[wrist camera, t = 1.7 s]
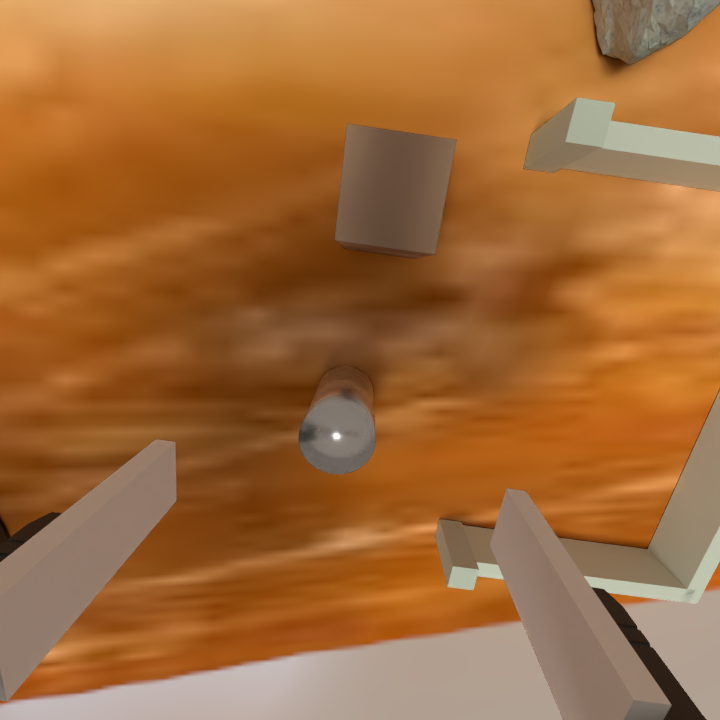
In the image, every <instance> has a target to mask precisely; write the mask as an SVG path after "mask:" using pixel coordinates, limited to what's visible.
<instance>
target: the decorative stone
mask: <svg viewBox="0 0 720 720" xmlns="http://www.w3.org/2000/svg"><path fill="white" fill-rule="evenodd" d="M592 2H593V5H594V8H595V12H594V15H593V18H594V21H595V24H596V28H597V39H598V44H599V46H600V48H601V51H602V53H603V55H608V56H610V57H613V58H620V59H621V60H622V61H624V62H625V63H627V64H629V65H632V64H633V63H635V62H637V61H639V60H641V59H643V58H645V57H646V56H648V55H650V54H652V53H653V52H655V51H657V50H659V49H661V48H663V47H665V46H667V45H669V44H671V43H672V42H674V41H677V40H679V39H681V38H682V37H683V36H685V35H686V34H687V33H688V32H690V31H691V30H692V29H693V28H694V27H695V26H696V25H697V24H698V23H699V22H700V21H701V20H702V19H703V18H704V17H705V16H707V15H708V14H709V13H710V12H711V11H712V10H714V9H715V8H716V7H717V6H718V5H720V0H592Z"/></svg>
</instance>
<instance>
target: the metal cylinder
mask: <svg viewBox="0 0 720 720" xmlns="http://www.w3.org/2000/svg"><path fill="white" fill-rule="evenodd" d="M299 446H300V449H301V452H302V454H303V455H304V457H305V458H306V460H307V461H308V462H309V463H310V464H311V465H313V466H314V467H315V468H317V469H319V470H321V471H323V472H327V473H331V474H345V473H350V472H353V471H355V470H357V469H359V468H361V467H362V466H363V465H364V464H365V463H366V462H367V461H368V460H369V459H370V457H371V456H372V454H373V451H374V448H375V420H374V398H373V386H372V383H371V381H370V379H369V377H368V376H367V375H366V374H365V373H364V372H363V371H361V370H360V369H358V368H356V367H353V366H338V367H334V368H332V369H330V370H329V371H328V372H326V373H325V374H324V375H323V377H322V378H321V380H320V382H319V385H318V387H317V389H316V392H315V394H314V397H313V399H312V401H311V404H310V406H309V409H308V411H307V413H306V416H305V418H304V420H303V423H302V425H301V428H300V431H299Z"/></svg>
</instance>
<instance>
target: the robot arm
mask: <svg viewBox="0 0 720 720" xmlns="http://www.w3.org/2000/svg"><path fill="white" fill-rule="evenodd" d="M175 502H176V443H175V442H173V441H166V440H158V439H156V440H155V441H153V442H152V443H151V444H149V445H148V446H147V447H146V448H144V449H143V450H142V451H141V452H139V453H138V454H137V455H136V456H134V457H133V458H132V459H130V460H129V461H128V462H127V463H125V464H124V465H123V466H122V467H120V468H119V469H118V470H117V471H115V472H114V473H113V474H111V475H110V476H109V477H108V478H106V479H105V480H104V481H103V482H101V483H100V484H99V485H98V486H96V487H95V488H94V489H93V490H91V491H90V492H89V493H87V494H86V495H85V496H84V497H82V498H81V499H80V500H79V501H77V502H76V503H75V504H74V505H72V506H71V507H70V508H68V509H67V510H66V511H65V512H63V513H54V512H51V513H49V514H47V515H45V516H43V517H41V518H39V519H37V520H35V521H33V522H31V523H29V524H28V525H26V526H25V527H23V528H22V529H21V530H19V531H18V532H17V533H15V534H14V535H13V536H11V537H10V538H9V539H7V536H6V533H5V531H4V529H3V527H2V525H1V524H0V700H2V701H8V700H9V699H10V698H11V696H12V695H13V694H14V693H15V692H16V691H17V689H18V688H19V687H20V686H21V685H22V683H23V682H24V681H25V680H26V679H27V677H28V676H29V675H30V674H31V673H32V672H33V670H34V669H35V668H36V667H37V666H38V664H39V663H40V662H41V661H42V660H43V658H44V657H45V656H46V655H47V654H48V653H49V651H50V650H51V649H52V648H53V647H54V645H55V644H56V643H57V642H58V641H59V640H60V638H61V637H62V636H63V635H64V634H65V632H66V631H67V630H68V629H69V628H70V626H71V625H72V624H73V623H74V622H75V621H76V619H77V618H78V617H79V616H80V615H81V613H82V612H83V611H84V610H85V609H86V608H87V606H88V605H89V604H90V603H91V602H92V600H93V599H94V598H95V597H96V596H97V594H98V593H99V592H100V591H101V590H102V589H103V587H104V586H105V585H106V584H107V583H108V581H109V580H110V579H111V578H112V577H113V576H114V574H115V573H116V572H117V571H118V570H119V568H120V567H121V566H122V565H123V564H124V562H125V561H126V560H127V559H128V558H129V557H130V555H131V554H132V553H133V552H134V551H135V549H136V548H137V547H138V546H139V545H140V544H141V542H142V541H143V540H144V539H145V538H146V536H147V535H148V534H149V533H150V532H151V530H152V529H153V528H154V527H155V526H156V525H157V523H158V522H159V521H160V520H161V519H162V517H163V516H164V515H165V514H166V513H167V512H168V510H169V509H170V508H171V507H172V506H173V504H174V503H175ZM490 547H491V549H492V552H493V554H494V556H495V559H496V561H497V564H498V566H499V568H500V571H501V573H502V575H503V578H504V580H505V583H506V585H507V587H508V590H509V592H510V595H511V597H512V599H513V602H514V604H515V606H516V609H517V611H518V614H519V616H520V618H521V621H522V623H523V625H524V628H525V630H526V633H527V635H528V637H529V640H530V642H531V644H532V647H533V649H534V651H535V654H536V656H537V659H538V661H539V663H540V666H541V668H542V671H543V673H544V675H545V678H546V680H547V682H548V685H549V687H550V690H551V692H552V694H553V697H554V699H555V701H556V704H557V706H558V709H559V711H560V714H561V716H562V718H563V720H706V719H705V717H704V716H703V715H702V714H701V712H700V711H699V710H698V708H697V707H696V706H695V704H694V703H693V702H692V700H691V699H690V697H689V696H688V695H687V693H686V692H685V691H684V689H683V688H682V687H681V685H680V684H679V683H678V681H677V680H676V679H675V677H674V676H673V674H672V673H671V672H670V670H669V669H668V668H667V666H666V665H665V663H664V662H663V661H662V659H661V658H660V657H659V655H658V654H657V653H656V651H655V650H654V649H653V648H651V647H650V643H649V642H648V640H647V639H646V638H645V636H644V635H643V634H642V632H641V631H640V630H638V629H637V625H636V624H635V623H634V621H633V620H632V619H631V617H630V616H629V615H628V613H627V612H626V611H625V609H624V608H623V606H621V605H620V604H619V603H618V602H617V601H616V600H615V599H614V598H613V597H612V596H611V595H610V594H609V593H607V592H606V591H605V590H604V589H601V588H594V587H591V586H590V585H589V583H588V582H587V580H586V579H585V577H584V576H583V574H582V573H581V571H580V570H579V568H578V567H577V566H576V564H575V563H574V561H573V560H572V558H571V557H570V555H569V554H568V552H567V551H566V549H565V548H564V546H563V545H562V544H561V542H560V541H559V539H558V538H557V536H556V535H555V533H554V532H553V530H552V529H551V527H550V526H549V524H548V523H547V522H546V520H545V519H544V517H543V516H542V514H541V513H540V511H539V510H538V508H537V507H536V505H535V504H534V503H533V501H532V500H531V498H530V497H529V495H528V494H527V492H526V491H520V490H513V489H506V492H505V495H504V499H503V502H502V505H501V509H500V512H499V515H498V519H497V522H496V526H495V529H494V532H493V536H492V539H491V542H490Z"/></svg>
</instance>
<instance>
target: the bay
mask: <svg viewBox="0 0 720 720" xmlns="http://www.w3.org/2000/svg"><path fill="white" fill-rule="evenodd" d="M614 107H615V103H611V102H605V101H598V100H591V99H585V98H578V97H577V98H576V99H574V100H573V101H572V102H571V103H570V104H568V105H567V106H566V107H565V108H563V109H562V110H561V111H560V112H558V113H557V114H556V115H555V116H554V117H552V118H551V119H550V120H549V121H547V122H546V123H545V124H544V125H542V126H541V127H540V128H539V129H538V130H536V131H535V132H534V133H533V134H531V138H530V143H529V147H528V151H527V155H526V159H525V163H524V168H523V169H530V170H537V171H543V172H550V173H553V172H555V171H557V170H559V169H561V168H562V169H569V170H576V171H583V172H590V173H596V174H603V175H610V176H617V177H624V178H631V179H637V180H644V181H651V182H658V183H665V184H672V185H678V186H685V187H692V188H699V189H706V190H713V191H719V192H720V137H717V136H710V135H704V134H697V133H690V132H684V131H677V130H670V129H663V128H657V127H650V126H643V125H637V124H630V123H623V122H616V121H611V117H612V114H613V110H614ZM493 532H494V529H488V528H481V527H473V526H465V525H462V522H459V521H451V520H443V519H439V523H438V527H437V531H436V535H435V539H436V543H437V547H438V551H439V555H440V559H441V563H442V567H443V571H444V575H445V579H446V583H447V587H452V588H460V589H468V590H473V589H474V586H475V582H476V579H477V576H481V577H489V578H496V579H504V578H503V575H502V573H501V571H500V568H499V566H498V564H497V561H496V559H495V556H494V554H493V552H492V549H491V547H490V542H491V539H492V536H493ZM557 538H558V537H557ZM558 539H559V541H560V542H561V544H562V545H563V546H564V548H565V549H566V551H567V552H568V554H569V555H570V557H571V558H572V560H573V561H574V563H575V564H576V566H577V567H578V568H579V570H580V571H581V573H582V574H583V576H584V577H585V579H586V580H587V582H588V583H589V585H590V586H591V587H594V588H601V589H604V590H605V591H606V592H607V593H614V594H622V595H630V596H638V597H646V598H654V599H662V600H670V601H677V602H685V603H693V604H697V603H698V601H699V599H700V597H701V595H702V593H703V592H704V590H705V588H706V586H707V584H708V582H709V580H710V578H711V577H712V575H713V573H714V571H715V569H716V567H717V565H718V563H719V562H720V391H719V393H718V395H717V397H716V399H715V402H714V404H713V406H712V408H711V410H710V413H709V415H708V417H707V419H706V421H705V424H704V426H703V428H702V430H701V432H700V435H699V437H698V439H697V441H696V443H695V446H694V448H693V450H692V452H691V454H690V457H689V459H688V461H687V463H686V465H685V468H684V470H683V472H682V474H681V476H680V479H679V481H678V483H677V485H676V487H675V490H674V492H673V494H672V496H671V498H670V501H669V503H668V505H667V507H666V509H665V512H664V514H663V516H662V518H661V520H660V523H659V525H658V527H657V529H656V531H655V534H654V536H653V538H652V540H651V542H650V545H649V547H648V549H643V548H635V547H627V546H620V545H612V544H604V543H597V542H589V541H581V540H573V539H566V538H558Z"/></svg>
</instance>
